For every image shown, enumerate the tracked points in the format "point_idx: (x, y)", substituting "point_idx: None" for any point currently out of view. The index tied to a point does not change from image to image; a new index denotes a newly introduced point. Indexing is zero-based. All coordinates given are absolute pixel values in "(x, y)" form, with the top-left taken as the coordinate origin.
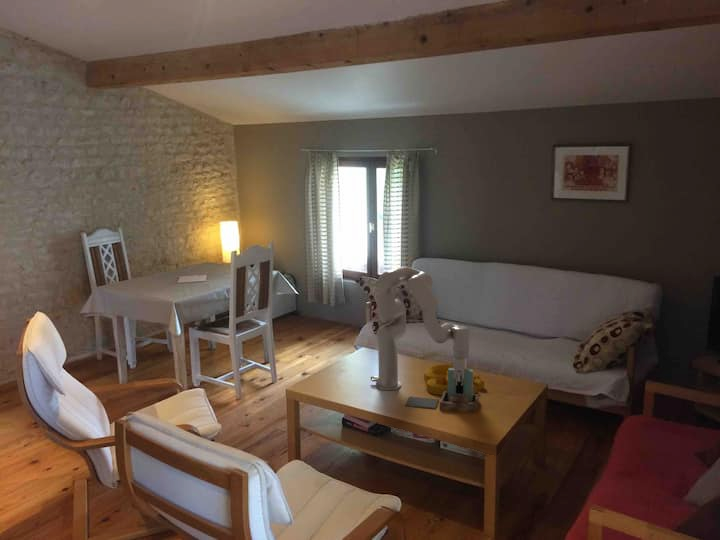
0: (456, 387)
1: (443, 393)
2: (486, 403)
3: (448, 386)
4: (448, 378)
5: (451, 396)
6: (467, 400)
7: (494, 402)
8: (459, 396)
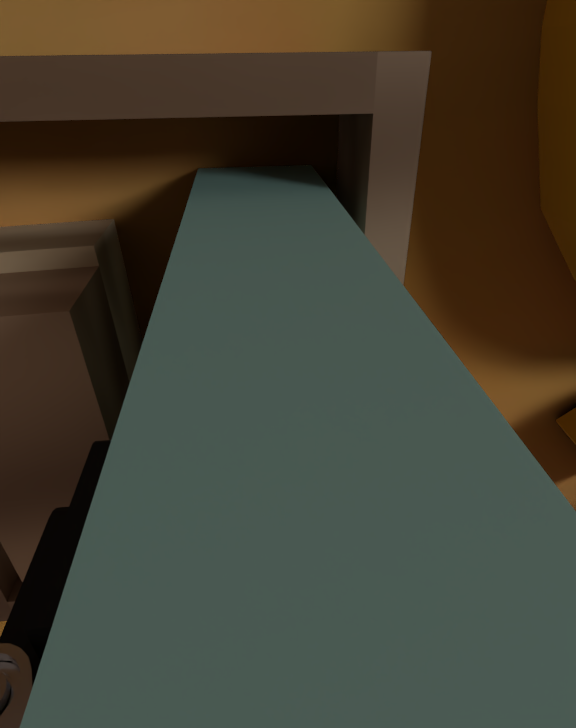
0: (57, 561)
1: (284, 63)
2: None
3: (165, 302)
4: (76, 574)
5: (13, 331)
6: (24, 563)
7: None
8: None
